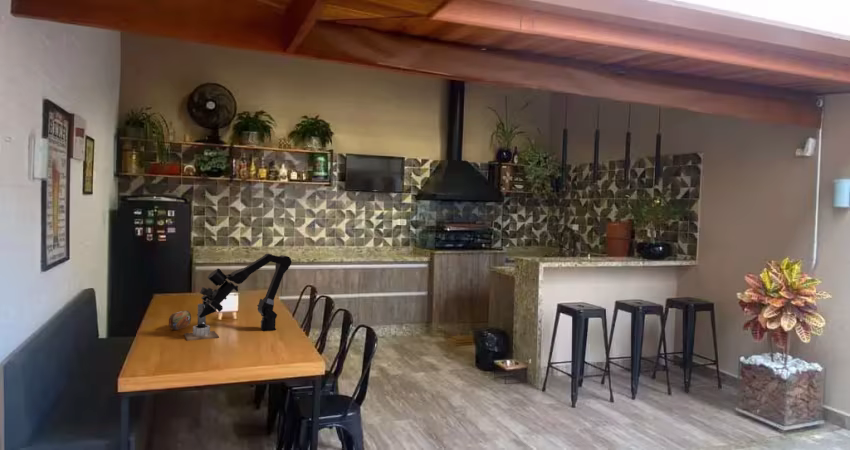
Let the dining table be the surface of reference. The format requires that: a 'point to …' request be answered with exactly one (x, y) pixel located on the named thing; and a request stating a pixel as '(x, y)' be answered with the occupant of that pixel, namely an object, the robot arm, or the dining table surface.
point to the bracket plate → (190, 337)
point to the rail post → (202, 320)
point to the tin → (179, 320)
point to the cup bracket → (201, 331)
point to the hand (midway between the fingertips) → (198, 316)
